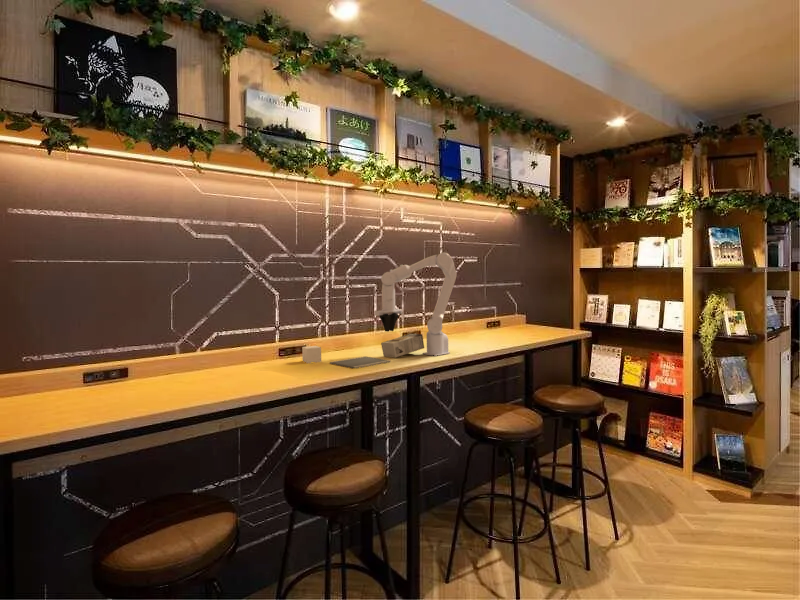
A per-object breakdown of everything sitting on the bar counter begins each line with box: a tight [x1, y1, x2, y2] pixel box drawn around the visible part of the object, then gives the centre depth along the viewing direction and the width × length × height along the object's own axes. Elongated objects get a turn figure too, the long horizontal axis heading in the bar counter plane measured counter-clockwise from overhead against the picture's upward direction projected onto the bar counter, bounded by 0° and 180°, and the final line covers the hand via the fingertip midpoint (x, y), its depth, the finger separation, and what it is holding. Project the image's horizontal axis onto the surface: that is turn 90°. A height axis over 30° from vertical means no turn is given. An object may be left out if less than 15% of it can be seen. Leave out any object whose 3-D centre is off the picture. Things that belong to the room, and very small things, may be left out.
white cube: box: [301, 345, 322, 364], centre depth 188 cm, size 6×6×6 cm
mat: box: [329, 356, 392, 369], centre depth 182 cm, size 18×16×1 cm
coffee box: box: [380, 333, 425, 359], centre depth 198 cm, size 9×6×16 cm
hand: (389, 331), depth 201 cm, fingers open, 2 cm apart
